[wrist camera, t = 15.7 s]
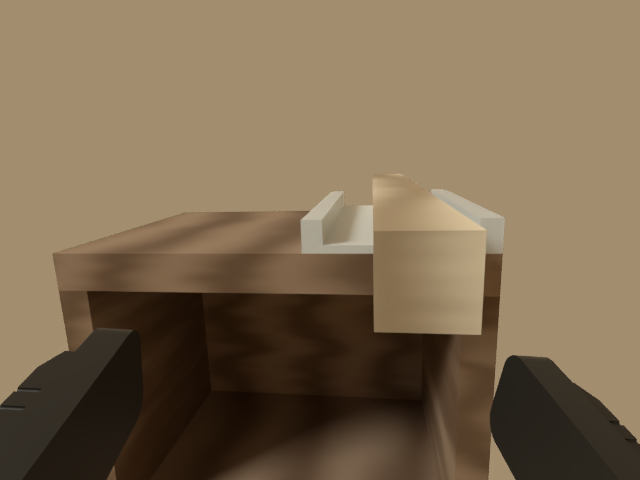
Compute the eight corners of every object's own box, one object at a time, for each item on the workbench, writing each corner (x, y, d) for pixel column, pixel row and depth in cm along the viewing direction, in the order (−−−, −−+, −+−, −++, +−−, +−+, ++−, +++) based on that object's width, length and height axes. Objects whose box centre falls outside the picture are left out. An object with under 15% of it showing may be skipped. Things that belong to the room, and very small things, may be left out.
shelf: (131, 712, 27) (52, 253, 21) (215, 517, 42) (185, 212, 35) (469, 767, 24) (502, 253, 18) (433, 537, 39) (443, 208, 32)
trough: (301, 253, 19) (300, 220, 19) (332, 210, 33) (332, 191, 33) (502, 253, 18) (504, 217, 17) (443, 208, 32) (444, 189, 32)
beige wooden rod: (373, 332, 9) (373, 230, 9) (372, 202, 35) (372, 174, 34) (481, 334, 9) (486, 230, 9) (401, 202, 34) (401, 174, 34)
